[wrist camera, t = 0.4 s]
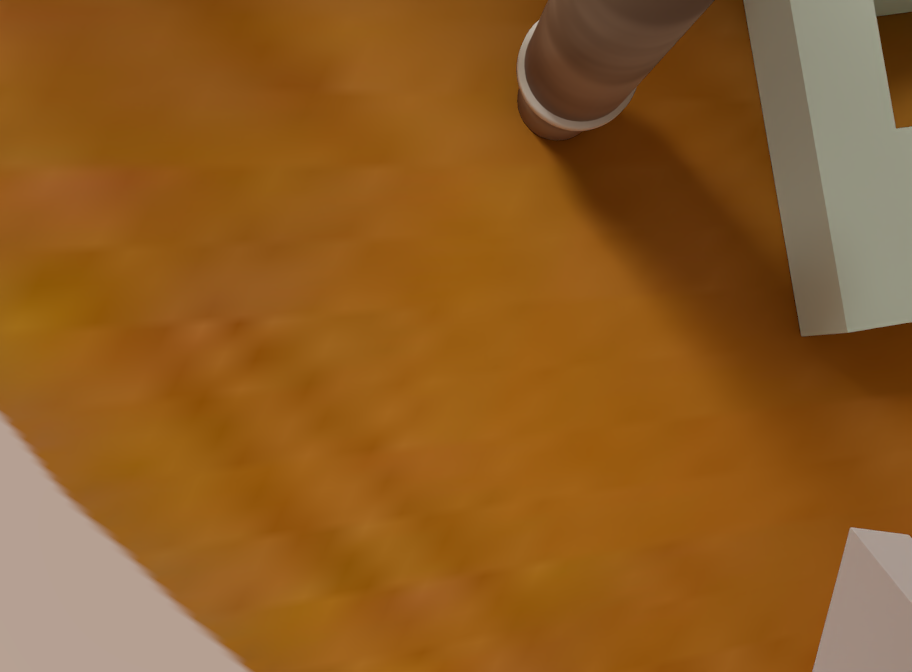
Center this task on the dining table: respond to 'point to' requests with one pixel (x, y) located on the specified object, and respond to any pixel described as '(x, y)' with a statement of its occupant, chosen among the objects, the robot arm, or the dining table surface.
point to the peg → (593, 59)
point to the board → (836, 160)
